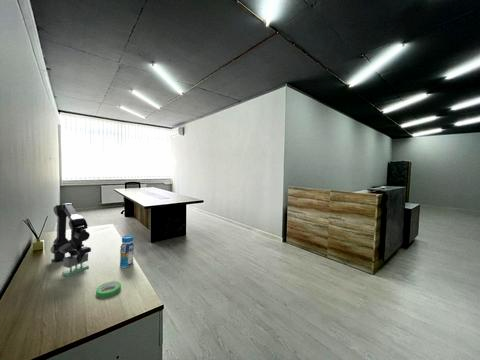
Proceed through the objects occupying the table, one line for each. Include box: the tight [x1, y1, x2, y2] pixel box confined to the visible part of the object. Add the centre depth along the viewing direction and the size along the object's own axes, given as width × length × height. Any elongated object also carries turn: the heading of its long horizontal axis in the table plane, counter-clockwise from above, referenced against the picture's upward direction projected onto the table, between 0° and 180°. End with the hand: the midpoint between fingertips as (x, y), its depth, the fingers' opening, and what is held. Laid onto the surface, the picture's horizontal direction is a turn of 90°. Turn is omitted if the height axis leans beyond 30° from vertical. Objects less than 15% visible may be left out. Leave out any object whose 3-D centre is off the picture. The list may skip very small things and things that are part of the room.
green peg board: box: [61, 263, 90, 277], centre depth 124 cm, size 5×12×4 cm, turn 160°
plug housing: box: [62, 252, 89, 269], centre depth 124 cm, size 5×11×5 cm, turn 160°
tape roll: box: [95, 280, 122, 299], centre depth 105 cm, size 11×11×3 cm
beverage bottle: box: [119, 235, 135, 269], centre depth 135 cm, size 8×8×20 cm
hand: (76, 261), depth 124 cm, fingers closed on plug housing, 5 cm apart
